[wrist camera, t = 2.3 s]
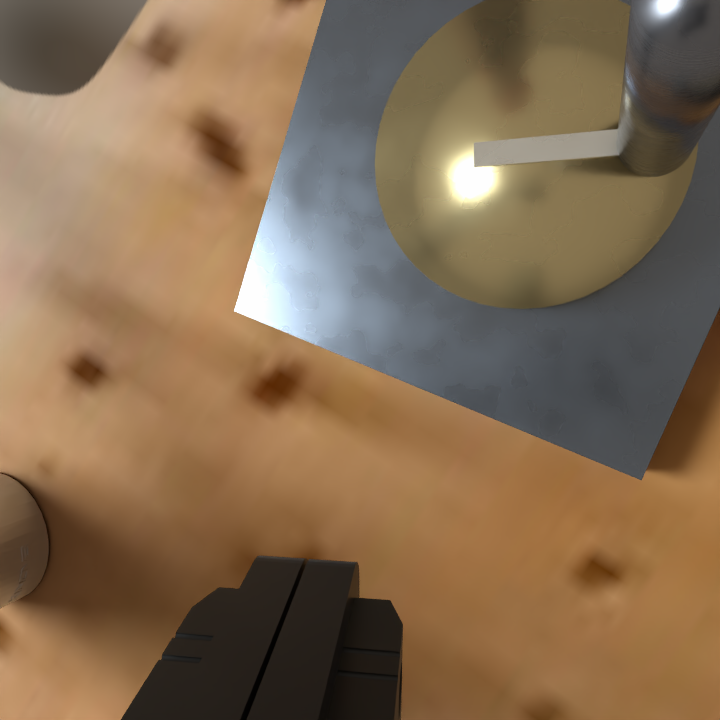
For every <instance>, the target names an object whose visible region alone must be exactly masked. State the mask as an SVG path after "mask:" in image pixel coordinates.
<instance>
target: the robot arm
mask: <svg viewBox="0 0 720 720" xmlns="http://www.w3.org/2000/svg"><path fill="white" fill-rule="evenodd" d="M48 555H49V542H48V534H47V529H46V524H45V522H44V519H43V516H42V513H41V511H40V509H39V507H38V505H37V503H36V502H35V500H34V499H33V497H32V496H31V495H30V493H29V492H28V491H27V489H25V488H24V487H23V486H22V485H21V484H20V483H19V482H18V481H16V480H14V479H12V478H11V477H9V476H7V475H4V474H0V608H2V607H4V606H6V605H8V604H10V603H12V602H14V601H16V600H18V599H20V598H22V597H24V596H26V595H28V594H29V593H30V592H31V591H33V590H34V589H35V588H36V587H37V585H38V584H39V582H40V581H41V579H42V578H43V575H44V572H45V569H46V567H47V561H48ZM402 641H403V624H402V622H401V620H400V618H399V616H398V614H397V612H396V610H395V608H394V607H393V605H392V603H391V601H390V600H379V599H365V598H359V565H358V563H357V562H345V561H331V560H316V559H309V560H307V559H304V558H289V557H274V556H257V557H256V559H255V560H254V562H253V564H252V566H251V568H250V570H249V571H248V573H247V575H246V577H245V579H244V581H243V582H242V584H241V586H240V588H239V589H233V588H220V587H219V588H217V589H216V590H215V591H213V592H212V593H211V594H209V595H208V596H207V597H205V598H204V599H203V600H201V601H200V602H199V603H197V604H196V605H195V606H193V607H192V608H191V610H190V611H189V613H188V614H187V616H186V618H185V619H184V621H183V622H182V624H181V626H180V627H179V629H178V630H177V632H176V636H175V638H172V640H171V641H170V643H169V644H168V646H167V648H166V649H165V651H164V652H163V654H162V659H161V660H158V662H157V663H156V665H155V667H154V668H153V670H152V671H151V673H150V674H149V676H148V678H147V679H146V681H145V682H144V684H143V685H142V687H141V689H140V690H139V692H138V693H137V695H136V697H135V698H134V700H133V701H132V703H131V704H130V706H129V708H128V709H127V711H126V712H125V714H124V715H123V717H122V719H121V720H401V693H402Z"/></svg>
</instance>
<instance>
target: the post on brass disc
mask: <svg viewBox="0 0 720 720" xmlns="http://www.w3.org/2000/svg"><path fill="white" fill-rule="evenodd" d="M719 106H720V0H631V6H630V5H628V4H626V3H624V2H622V1H620V0H485V1H483V2H481V3H479V4H477V5H475V6H473V7H471V8H469V9H467V10H465V11H464V12H462V13H461V14H459V15H458V16H456V17H455V18H453V19H452V20H450V21H449V22H448V23H446V24H445V25H444V26H443V27H442V28H440V29H439V30H438V31H437V32H436V33H435V34H433V35H432V36H431V37H430V38H429V39H428V40H427V41H426V42H425V44H424V45H423V46H422V47H421V48H420V49H419V50H418V51H417V52H416V53H415V55H414V56H413V58H412V59H411V60H410V62H409V63H408V64H407V66H406V67H405V68H404V70H403V72H402V73H401V75H400V77H399V79H398V80H397V82H396V84H395V86H394V87H393V90H392V92H391V94H390V96H389V99H388V101H387V103H386V106H385V109H384V112H383V115H382V119H381V122H380V125H379V131H378V136H377V142H376V152H375V177H376V187H377V192H378V197H379V202H380V205H381V209H382V212H383V215H384V218H385V221H386V223H387V225H388V227H389V229H390V231H391V233H392V235H393V237H394V239H395V240H396V242H397V244H398V245H399V247H400V248H401V250H402V251H403V253H404V254H405V255H406V256H407V257H408V259H409V260H410V261H411V262H412V263H413V264H414V266H415V267H417V268H418V269H419V270H420V271H421V272H422V273H423V274H424V275H425V276H427V277H428V278H429V279H430V280H432V281H433V282H435V283H436V284H438V285H439V286H441V287H442V288H444V289H445V290H447V291H449V292H451V293H453V294H455V295H457V296H459V297H461V298H464V299H467V300H470V301H473V302H476V303H479V304H483V305H489V306H494V307H499V308H513V309H532V308H546V307H551V306H556V305H561V304H566V303H569V302H572V301H575V300H578V299H581V298H584V297H586V296H588V295H591V294H593V293H595V292H597V291H599V290H601V289H603V288H605V287H606V286H608V285H609V284H611V283H613V282H614V281H616V280H617V279H619V278H621V277H622V276H623V275H624V274H625V273H627V272H628V271H629V270H630V269H632V268H633V267H634V266H635V265H636V264H638V262H639V261H640V260H641V259H642V258H643V257H644V256H645V255H646V254H647V253H648V252H649V251H650V250H651V249H652V248H653V247H654V245H655V244H656V243H657V242H658V240H659V239H660V238H661V236H662V235H663V234H664V232H665V231H666V230H667V228H668V227H669V226H670V224H671V222H672V221H673V219H674V217H675V215H676V214H677V212H678V210H679V208H680V206H681V205H682V202H683V200H684V197H685V195H686V192H687V190H688V187H689V185H690V182H691V179H692V175H693V171H694V167H695V163H696V159H697V150H698V141H699V139H700V138H701V136H702V134H703V133H704V131H705V129H706V128H707V126H708V124H709V123H710V121H711V119H712V118H713V116H714V114H715V112H716V111H717V109H718V107H719Z"/></svg>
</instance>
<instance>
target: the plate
mask: <svg viewBox="0 0 720 720" xmlns="http://www.w3.org/2000/svg"><path fill="white" fill-rule="evenodd" d="M483 1H485V0H326V3H325V6H324V10H323V13H322V16H321V20H320V23H319V27H318V30H317V33H316V37H315V40H314V43H313V47H312V50H311V54H310V57H309V60H308V64H307V67H306V71H305V74H304V77H303V81H302V84H301V87H300V91H299V94H298V98H297V101H296V104H295V108H294V111H293V114H292V118H291V121H290V125H289V128H288V131H287V135H286V138H285V142H284V145H283V148H282V152H281V155H280V158H279V162H278V165H277V169H276V172H275V175H274V179H273V182H272V186H271V189H270V192H269V196H268V199H267V202H266V206H265V209H264V213H263V216H262V219H261V223H260V226H259V229H258V233H257V236H256V240H255V243H254V246H253V250H252V253H251V257H250V260H249V263H248V267H247V270H246V273H245V277H244V280H243V284H242V287H241V290H240V294H239V297H238V300H237V304H236V307H235V311H236V312H238V313H240V314H243V315H245V316H248V317H250V318H252V319H255V320H257V321H260V322H262V323H264V324H267V325H269V326H272V327H274V328H276V329H279V330H281V331H284V332H286V333H288V334H291V335H293V336H296V337H298V338H300V339H303V340H305V341H308V342H310V343H313V344H315V345H317V346H320V347H322V348H325V349H327V350H329V351H332V352H334V353H337V354H339V355H341V356H344V357H346V358H349V359H351V360H353V361H356V362H358V363H361V364H363V365H365V366H368V367H370V368H373V369H375V370H377V371H380V372H382V373H385V374H387V375H389V376H392V377H394V378H397V379H399V380H401V381H404V382H406V383H409V384H411V385H414V386H416V387H418V388H421V389H423V390H426V391H428V392H430V393H433V394H435V395H438V396H440V397H442V398H445V399H447V400H450V401H452V402H454V403H457V404H459V405H462V406H464V407H466V408H469V409H471V410H474V411H476V412H478V413H481V414H483V415H486V416H488V417H490V418H493V419H495V420H498V421H500V422H502V423H505V424H507V425H510V426H512V427H514V428H517V429H519V430H522V431H524V432H527V433H529V434H531V435H534V436H536V437H539V438H541V439H543V440H546V441H548V442H551V443H553V444H555V445H558V446H560V447H563V448H565V449H567V450H570V451H572V452H575V453H577V454H579V455H582V456H584V457H587V458H589V459H591V460H594V461H596V462H599V463H601V464H603V465H606V466H608V467H611V468H613V469H615V470H618V471H620V472H623V473H625V474H628V475H630V476H632V477H635V478H637V479H640V480H642V478H643V476H644V473H645V471H646V469H647V467H648V465H649V462H650V460H651V458H652V456H653V454H654V451H655V449H656V447H657V445H658V443H659V440H660V438H661V436H662V434H663V432H664V429H665V427H666V425H667V423H668V420H669V418H670V416H671V414H672V412H673V409H674V407H675V405H676V403H677V401H678V398H679V396H680V394H681V392H682V390H683V387H684V385H685V383H686V381H687V379H688V376H689V374H690V372H691V370H692V368H693V365H694V363H695V361H696V359H697V356H698V354H699V352H700V350H701V348H702V345H703V343H704V341H705V339H706V337H707V334H708V332H709V330H710V328H711V326H712V323H713V321H714V319H715V317H716V315H717V312H718V310H719V308H720V106H719V107H718V109H717V111H716V112H715V114H714V116H713V118H712V119H711V121H710V123H709V124H708V126H707V128H706V129H705V131H704V133H703V134H702V136H701V138H700V139H699V141H698V150H697V159H696V163H695V167H694V171H693V175H692V179H691V182H690V185H689V187H688V190H687V192H686V195H685V197H684V200H683V202H682V205H681V206H680V208H679V210H678V212H677V214H676V215H675V217H674V219H673V221H672V222H671V224H670V226H669V227H668V228H667V230H666V231H665V232H664V234H663V235H662V236H661V238H660V239H659V240H658V242H657V243H656V244H655V245H654V247H653V248H652V249H651V250H650V251H649V252H648V253H647V254H646V255H645V256H644V257H643V258H642V259H641V260H640V261H639V262H638V264H636V265H635V266H634V267H633V268H632V269H630V270H629V271H628V272H627V273H625V274H624V275H623V276H622V277H621V278H619V279H617V280H616V281H614V282H613V283H611V284H609V285H608V286H606V287H605V288H603V289H601V290H599V291H597V292H595V293H593V294H591V295H588V296H586V297H584V298H581V299H578V300H575V301H572V302H569V303H566V304H561V305H556V306H551V307H546V308H532V309H513V308H499V307H494V306H489V305H483V304H479V303H476V302H473V301H470V300H467V299H464V298H461V297H459V296H457V295H455V294H453V293H451V292H449V291H447V290H445V289H444V288H442V287H441V286H439V285H438V284H436V283H435V282H433V281H432V280H430V279H429V278H428V277H427V276H425V275H424V274H423V273H422V272H421V271H420V270H419V269H418V268H417V267H415V266H414V264H413V263H412V262H411V261H410V260H409V259H408V257H407V256H406V255H405V254H404V253H403V251H402V250H401V248H400V247H399V245H398V244H397V242H396V240H395V239H394V237H393V235H392V233H391V231H390V229H389V227H388V225H387V223H386V221H385V218H384V215H383V212H382V209H381V205H380V202H379V197H378V192H377V187H376V177H375V152H376V142H377V136H378V131H379V125H380V122H381V119H382V115H383V112H384V109H385V106H386V103H387V101H388V99H389V96H390V94H391V92H392V90H393V87H394V86H395V84H396V82H397V80H398V79H399V77H400V75H401V73H402V72H403V70H404V68H405V67H406V66H407V64H408V63H409V62H410V60H411V59H412V58H413V56H414V55H415V53H416V52H417V51H418V50H419V49H420V48H421V47H422V46H423V45H424V44H425V42H426V41H427V40H428V39H429V38H430V37H431V36H432V35H433V34H435V33H436V32H437V31H438V30H439V29H440V28H442V27H443V26H444V25H445V24H446V23H448V22H449V21H450V20H452V19H453V18H455V17H456V16H458V15H459V14H461V13H462V12H464V11H465V10H467V9H469V8H471V7H473V6H475V5H477V4H479V3H481V2H483ZM620 1H622V2H624V3H626V4H628V5H630V6H631V0H620Z"/></svg>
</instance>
